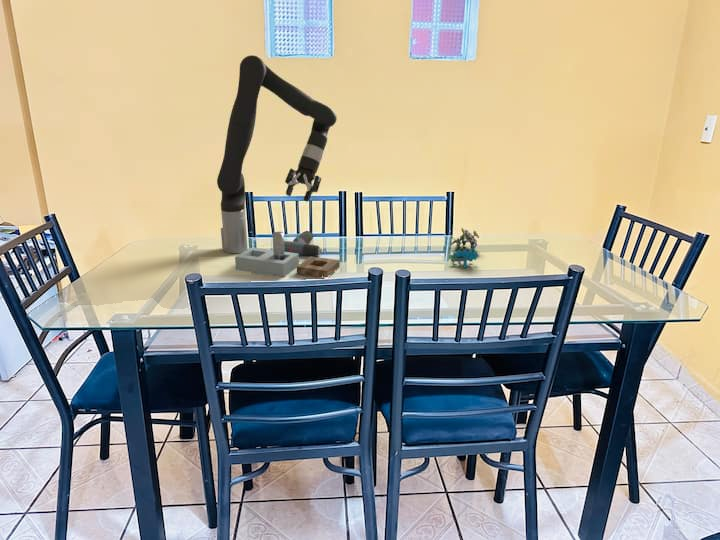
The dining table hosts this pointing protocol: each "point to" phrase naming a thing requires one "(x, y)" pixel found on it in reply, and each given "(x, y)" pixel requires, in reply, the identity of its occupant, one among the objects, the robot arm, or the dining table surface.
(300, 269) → the socket block
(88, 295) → the dining table surface
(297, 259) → the block
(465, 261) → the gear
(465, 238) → the passion flower
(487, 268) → the dining table surface
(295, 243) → the power drill
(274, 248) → the steel bit
